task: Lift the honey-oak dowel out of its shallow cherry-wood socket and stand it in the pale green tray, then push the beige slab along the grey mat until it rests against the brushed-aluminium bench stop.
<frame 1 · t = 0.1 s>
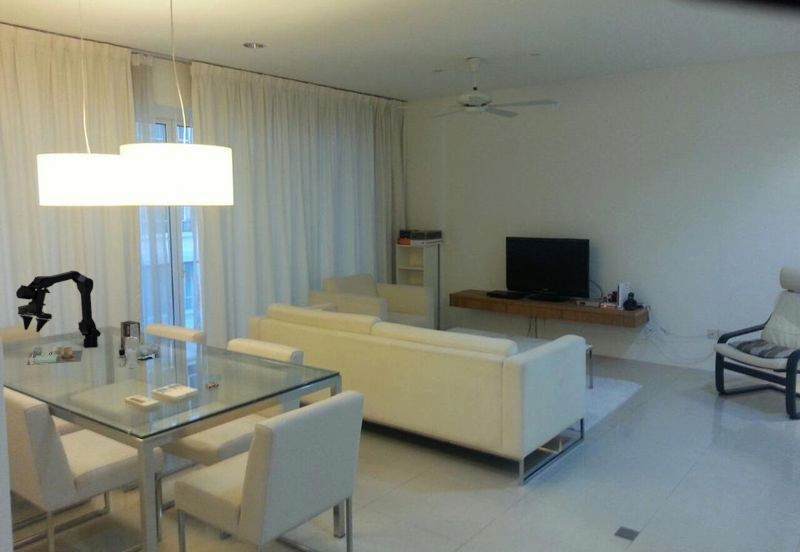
hand: (31, 330, 312), 15 cm above the table, tool pointing down, fingers open, 9 cm apart
mat: (56, 357, 321), on the table
dowel: (68, 353, 317), in the socket, touching mat
beige slab: (61, 354, 327), resting on mat
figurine: (139, 358, 329), on the table
coffee box: (130, 350, 341), on the table
beer glass: (132, 367, 311), on the table
socket: (68, 359, 318), resting on mat
bench stop: (37, 355, 322), resting on mat
tray: (46, 360, 313), resting on mat
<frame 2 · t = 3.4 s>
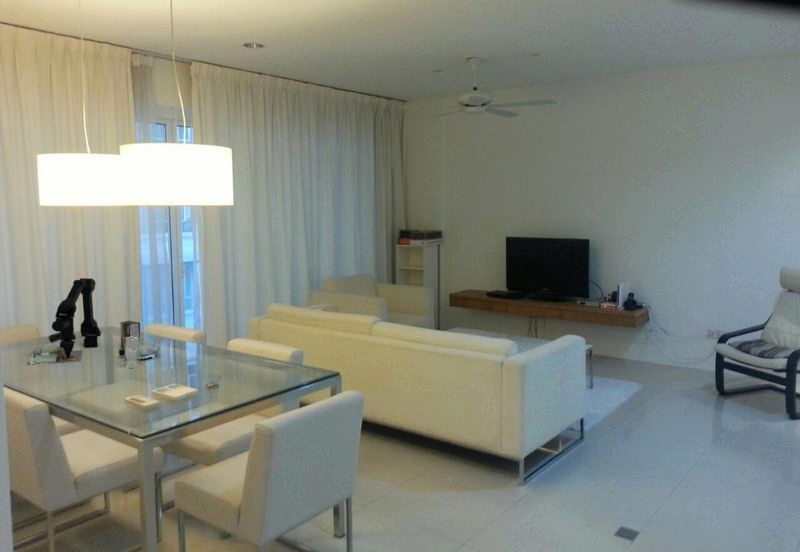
hand: (68, 356, 318), 2 cm above the table, tool pointing down, fingers closed on dowel, 4 cm apart
dowel: (68, 353, 317), in the socket, touching gripper, mat
everything else where it was.
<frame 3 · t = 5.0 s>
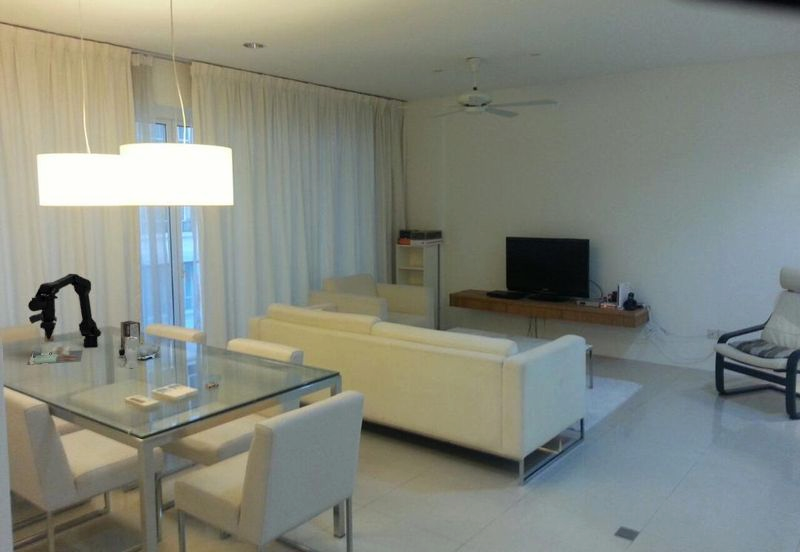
hand: (49, 338, 312), 12 cm above the table, tool pointing down, fingers closed on dowel, 4 cm apart
dowel: (49, 335, 312), point 14 cm above the table, touching gripper
everything else where it was.
when the fingers open (3 cm above the table, at t = 7.0 s): dowel drops 1 cm, resting on tray.
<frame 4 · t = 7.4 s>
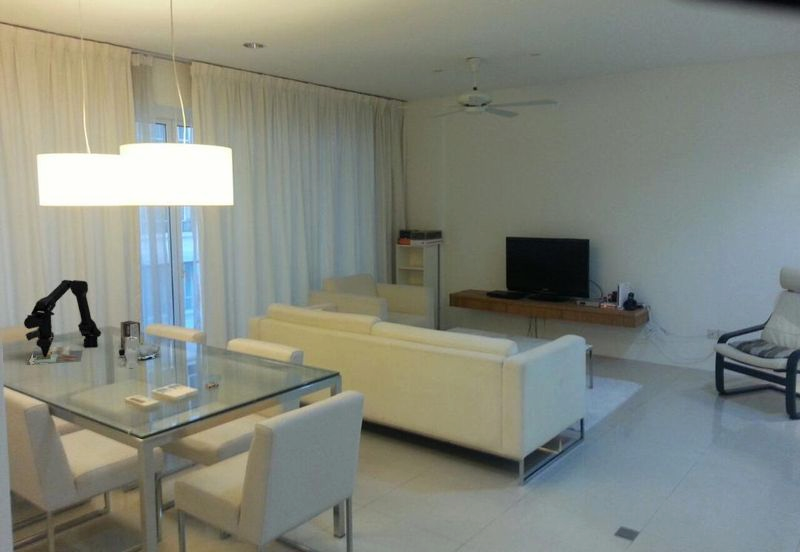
hand: (45, 354, 313), 3 cm above the table, tool pointing down, fingers open, 9 cm apart
dowel: (45, 353, 313), in the tray, point 4 cm above the table
everything else where it was.
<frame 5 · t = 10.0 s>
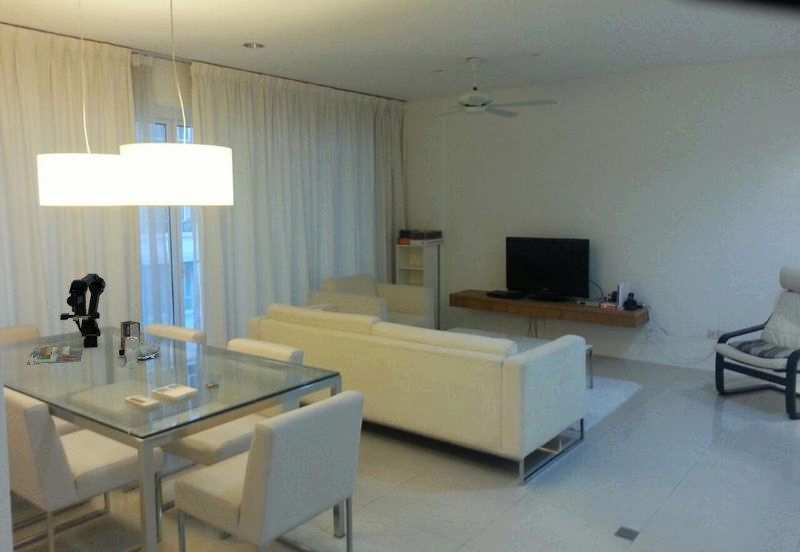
hand: (80, 331, 329), 12 cm above the table, tool pointing down, fingers closed
nothing on the table moved.
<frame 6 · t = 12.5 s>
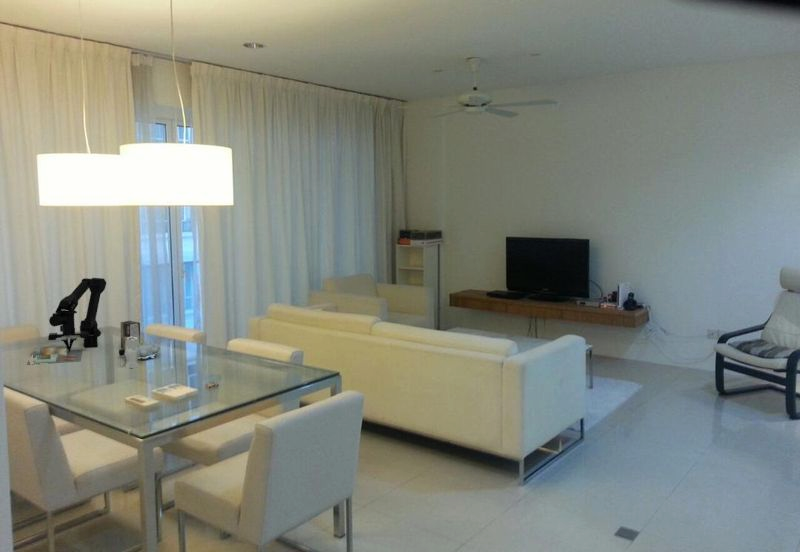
hand: (69, 351, 328), 2 cm above the table, tool pointing down, fingers closed
beige slab: (58, 354, 326), resting on mat, touching gripper
everything else where it was.
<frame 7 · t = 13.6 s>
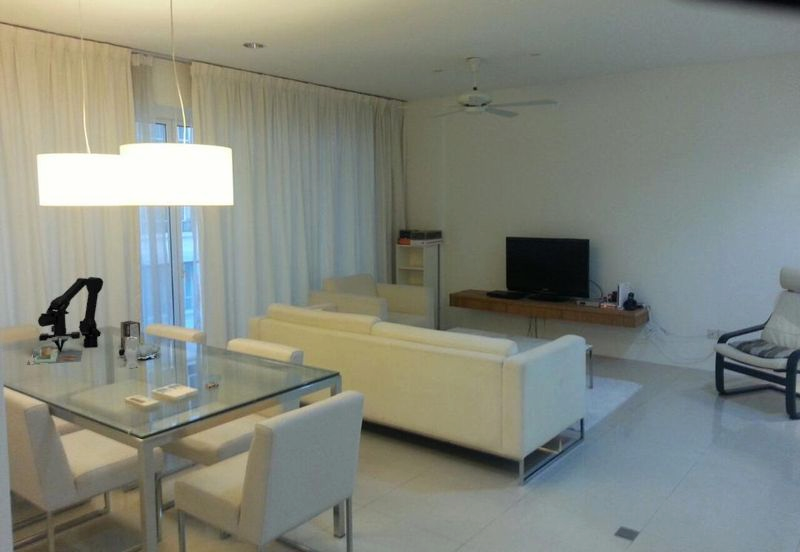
hand: (60, 351, 326), 2 cm above the table, tool pointing down, fingers closed
beige slab: (49, 354, 325), resting on mat, touching bench stop, gripper
everything else where it was.
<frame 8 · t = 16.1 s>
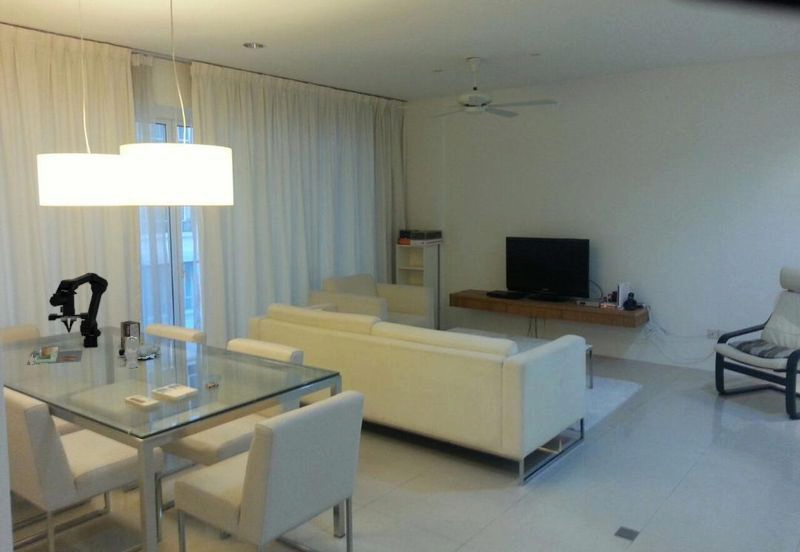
hand: (69, 332, 327), 12 cm above the table, tool pointing down, fingers closed
beige slab: (49, 354, 325), resting on mat, touching bench stop
everything else where it was.
at the end: dowel 0.0 cm off-centre on the tray, point 3.6 cm above the tray's base; dowel tilted 0°; beige slab 0.3 cm from the target spot on the table beside the bench stop, resting on mat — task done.
